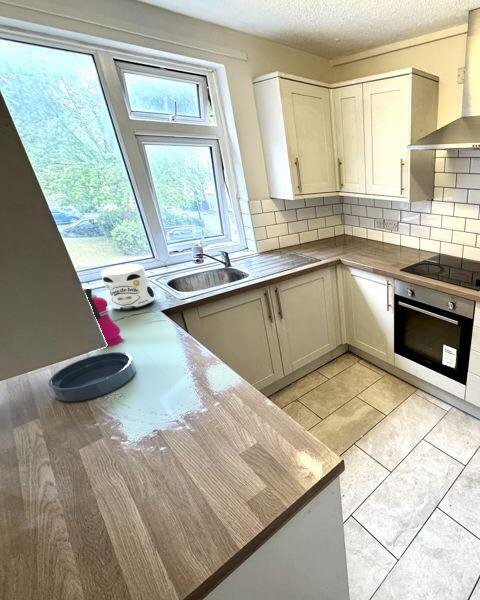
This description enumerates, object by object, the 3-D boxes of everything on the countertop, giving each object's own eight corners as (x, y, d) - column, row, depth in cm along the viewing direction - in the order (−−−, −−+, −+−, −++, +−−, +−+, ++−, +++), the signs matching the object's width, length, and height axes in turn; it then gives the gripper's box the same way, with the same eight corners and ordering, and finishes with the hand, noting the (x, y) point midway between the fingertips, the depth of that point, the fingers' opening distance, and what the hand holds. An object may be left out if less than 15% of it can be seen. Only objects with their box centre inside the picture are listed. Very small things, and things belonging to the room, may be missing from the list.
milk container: (121, 316, 145) (107, 278, 138) (105, 307, 154) (91, 271, 147) (163, 302, 159) (152, 267, 152) (146, 295, 167) (135, 261, 160)
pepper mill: (104, 339, 127) (84, 291, 119) (126, 336, 129) (108, 289, 121) (96, 349, 121) (74, 299, 113) (119, 345, 123) (100, 296, 115)
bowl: (36, 401, 95) (28, 387, 93) (98, 363, 112) (92, 350, 110) (98, 405, 93) (92, 391, 91) (150, 365, 111) (146, 353, 109)
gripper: (-3, 284, 79) (38, 364, 89) (96, 267, 92) (123, 339, 101) (-3, 277, 84) (35, 354, 93) (91, 262, 97) (117, 331, 106)
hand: (81, 346), depth 97 cm, fingers closed on sponge, 5 cm apart
